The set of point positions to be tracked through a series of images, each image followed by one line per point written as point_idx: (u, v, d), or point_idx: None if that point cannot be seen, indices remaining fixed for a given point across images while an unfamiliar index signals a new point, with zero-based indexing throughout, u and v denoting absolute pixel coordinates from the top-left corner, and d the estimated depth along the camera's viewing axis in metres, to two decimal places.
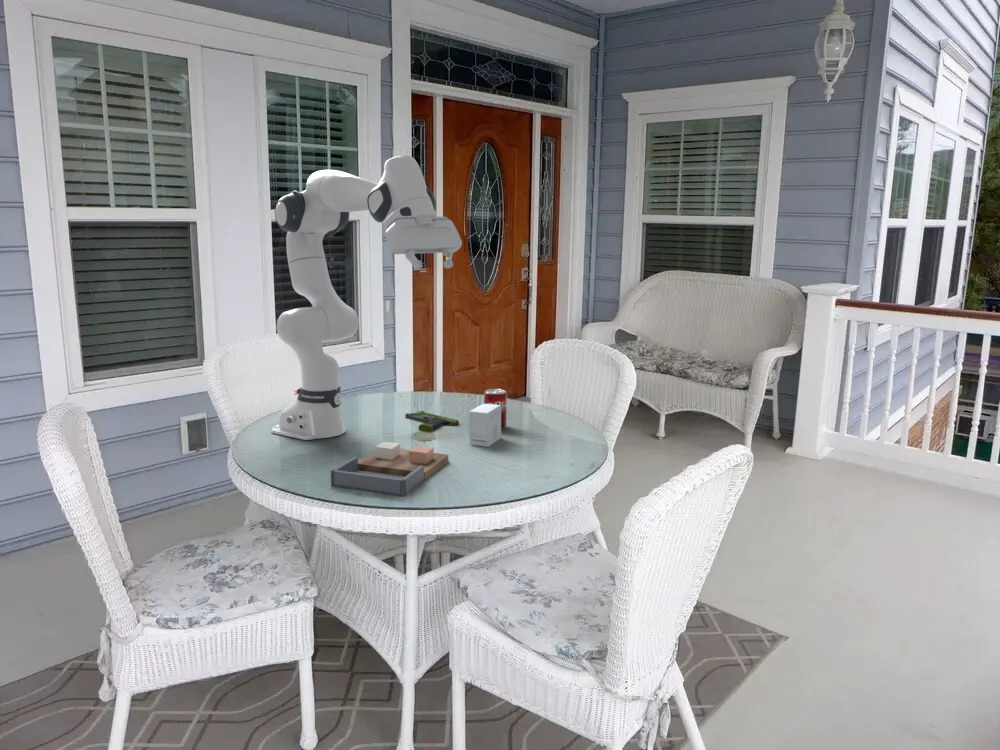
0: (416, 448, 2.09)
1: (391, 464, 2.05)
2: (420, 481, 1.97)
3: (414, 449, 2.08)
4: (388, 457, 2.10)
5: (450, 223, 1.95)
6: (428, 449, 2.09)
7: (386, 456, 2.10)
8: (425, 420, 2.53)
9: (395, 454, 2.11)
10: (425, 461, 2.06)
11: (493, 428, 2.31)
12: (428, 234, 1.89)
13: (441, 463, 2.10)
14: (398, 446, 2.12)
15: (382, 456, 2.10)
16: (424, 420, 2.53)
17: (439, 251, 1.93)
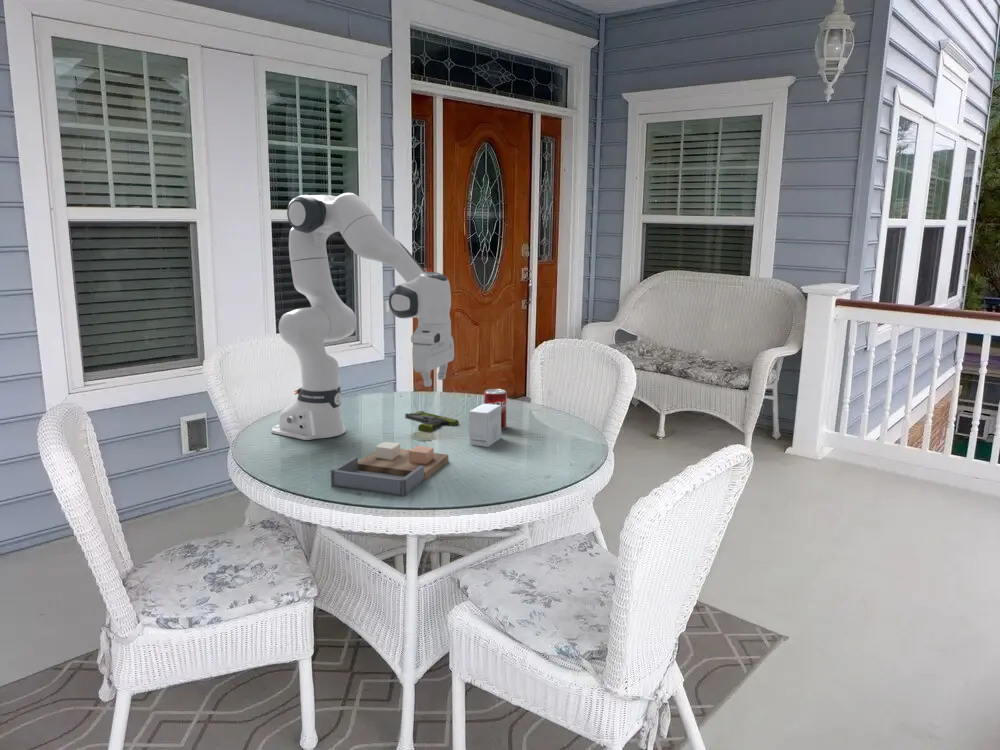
0: (416, 448, 2.09)
1: (391, 464, 2.05)
2: (420, 481, 1.97)
3: (414, 449, 2.08)
4: (388, 457, 2.10)
5: (452, 339, 2.18)
6: (428, 449, 2.09)
7: (386, 456, 2.10)
8: (425, 420, 2.52)
9: (395, 454, 2.11)
10: (425, 461, 2.06)
11: (493, 428, 2.31)
12: (440, 354, 2.11)
13: (441, 463, 2.10)
14: (398, 446, 2.12)
15: (382, 456, 2.10)
16: (424, 420, 2.53)
17: None
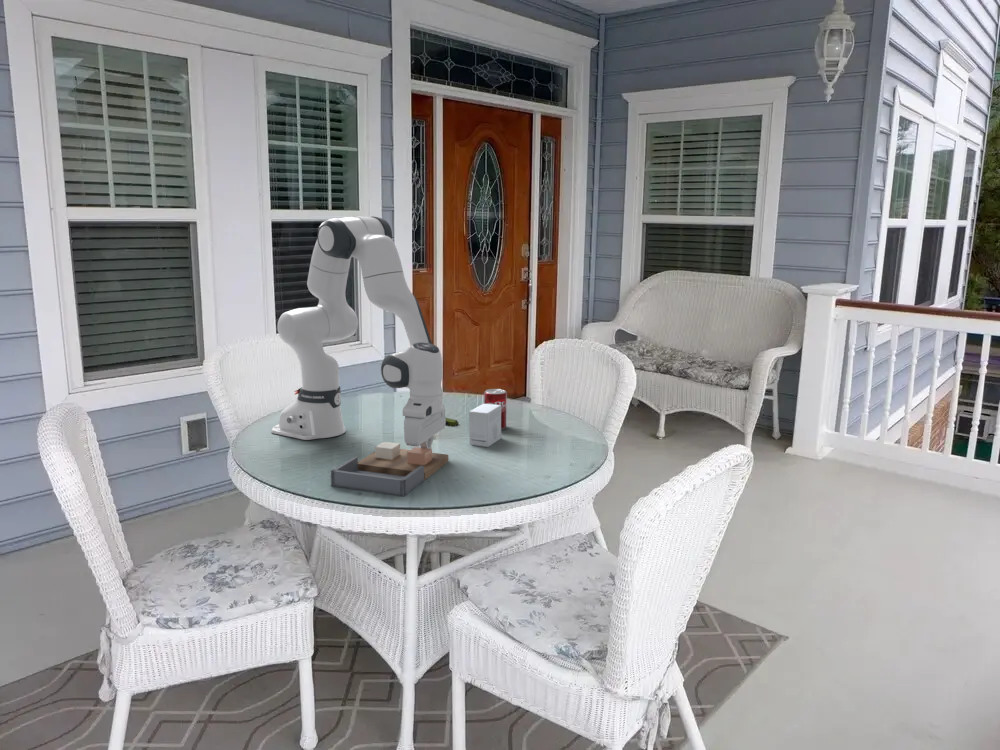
0: (414, 449, 2.08)
1: (391, 464, 2.05)
2: (420, 481, 1.97)
3: (412, 450, 2.07)
4: (388, 457, 2.10)
5: (443, 407, 2.16)
6: (427, 450, 2.07)
7: (386, 456, 2.10)
8: None
9: (395, 454, 2.11)
10: (424, 462, 2.05)
11: (493, 428, 2.31)
12: (432, 424, 2.10)
13: (441, 463, 2.10)
14: (398, 446, 2.12)
15: (382, 456, 2.10)
16: None
17: None
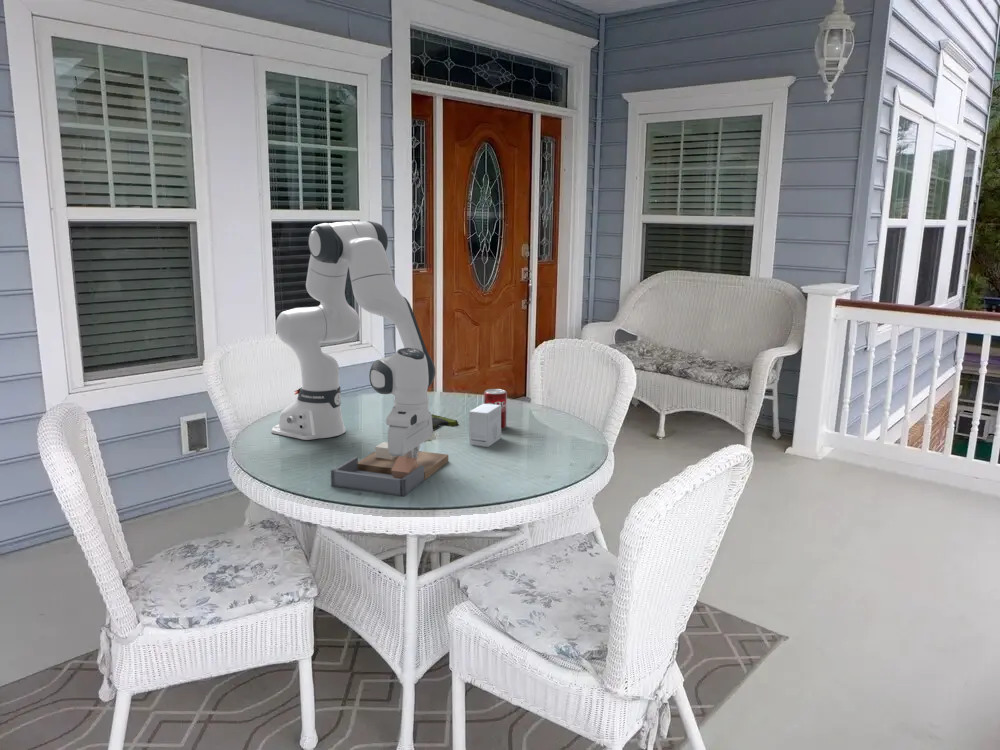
0: (398, 463, 1.99)
1: (391, 464, 2.05)
2: (420, 481, 1.97)
3: (396, 465, 1.98)
4: (388, 457, 2.10)
5: (430, 415, 2.08)
6: (411, 464, 1.98)
7: (386, 456, 2.10)
8: None
9: None
10: None
11: (493, 428, 2.31)
12: (417, 433, 2.01)
13: (441, 463, 2.10)
14: None
15: (382, 456, 2.10)
16: None
17: None
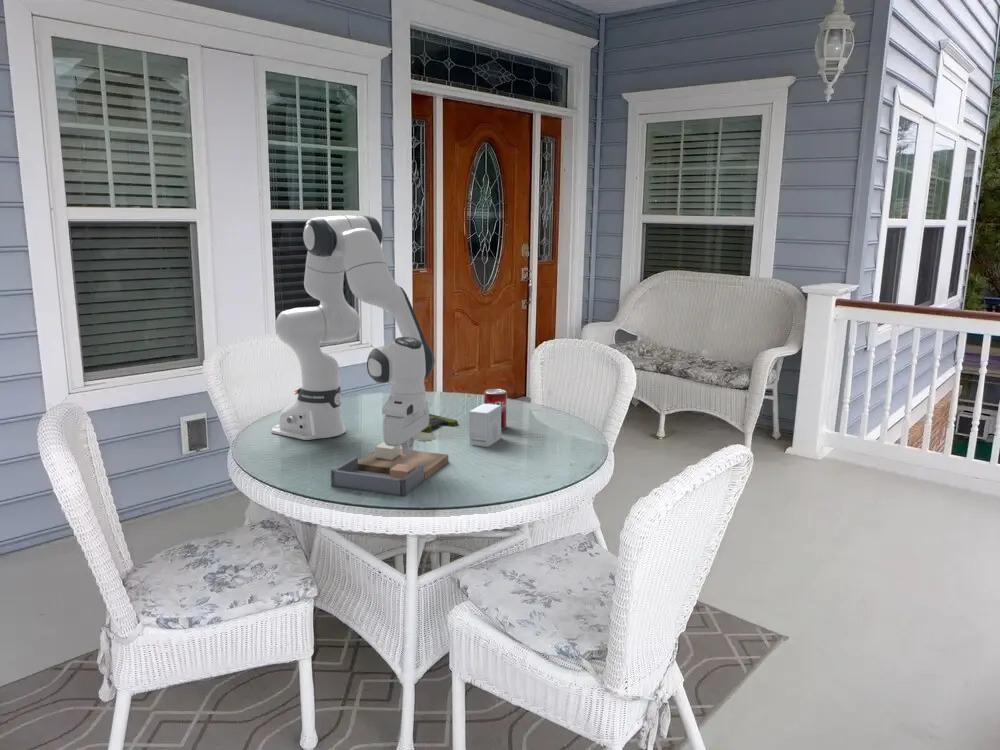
0: (397, 466, 1.99)
1: (391, 464, 2.05)
2: (420, 481, 1.97)
3: (395, 467, 1.98)
4: (388, 457, 2.10)
5: (426, 404, 2.06)
6: (410, 468, 1.98)
7: (386, 456, 2.10)
8: None
9: (395, 454, 2.11)
10: None
11: (493, 428, 2.31)
12: (414, 423, 1.99)
13: (441, 463, 2.10)
14: (398, 446, 2.12)
15: (382, 456, 2.10)
16: None
17: None
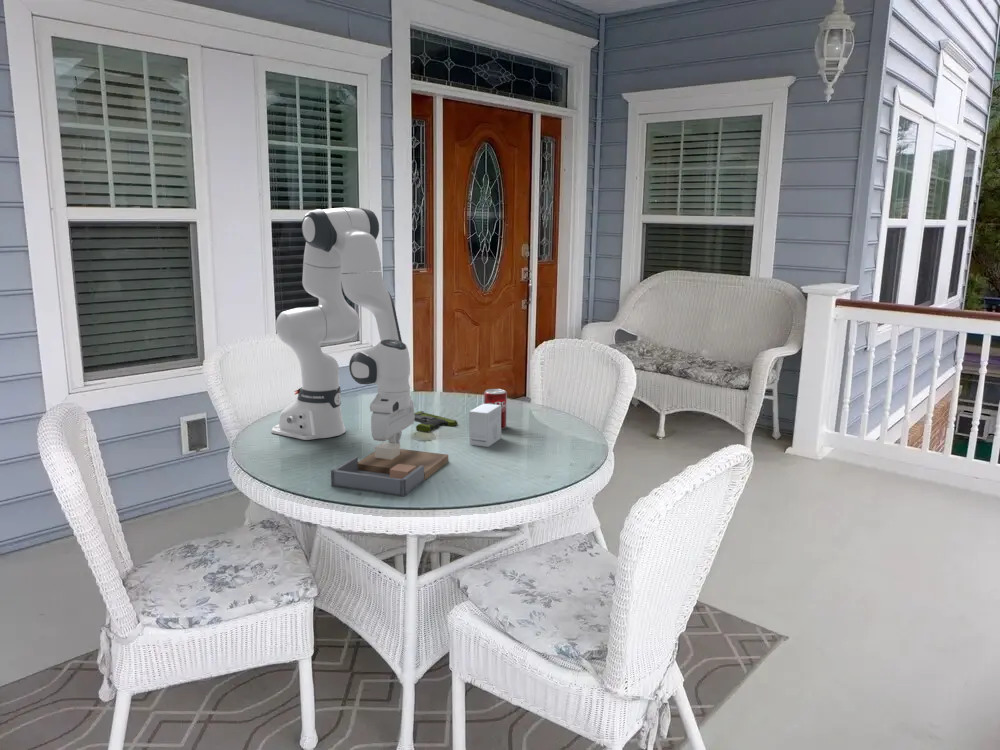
0: (397, 466, 1.99)
1: (391, 464, 2.05)
2: (420, 481, 1.97)
3: (395, 467, 1.98)
4: (388, 457, 2.09)
5: (412, 403, 2.20)
6: (410, 468, 1.98)
7: (386, 456, 2.10)
8: (424, 420, 2.52)
9: (395, 454, 2.11)
10: None
11: (493, 428, 2.31)
12: (400, 420, 2.13)
13: (441, 463, 2.10)
14: (398, 446, 2.12)
15: (382, 456, 2.10)
16: (423, 420, 2.53)
17: None
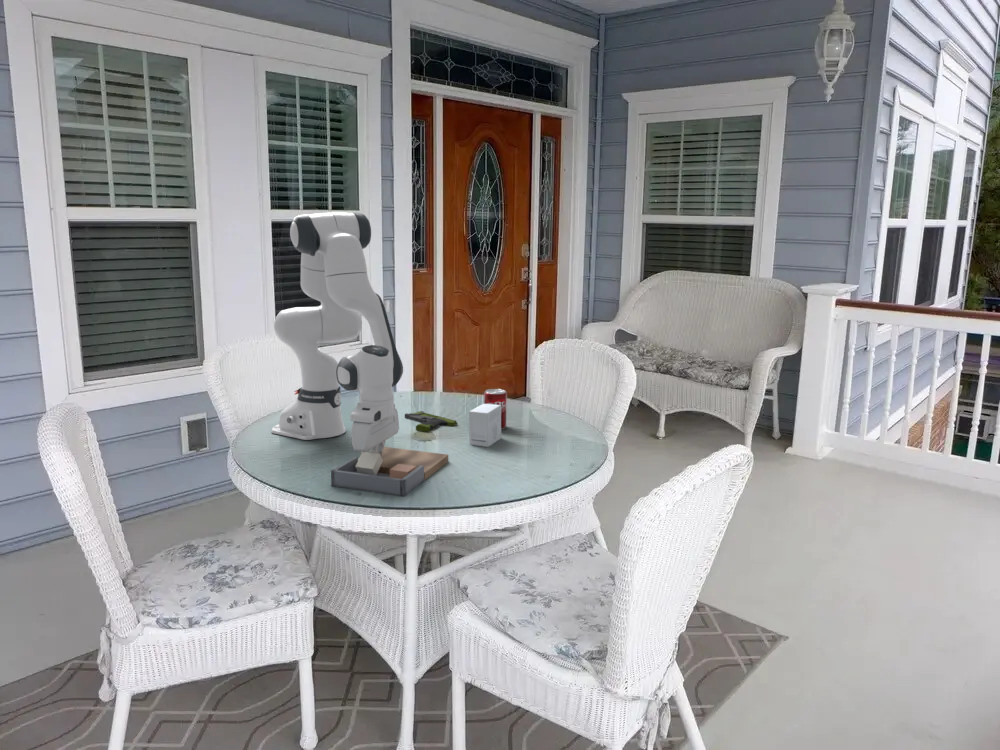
0: (397, 466, 1.99)
1: (391, 464, 2.05)
2: (420, 481, 1.97)
3: (395, 467, 1.98)
4: (371, 474, 2.01)
5: (396, 411, 2.11)
6: (410, 468, 1.98)
7: (369, 473, 2.01)
8: (423, 420, 2.52)
9: (378, 467, 2.02)
10: None
11: (493, 428, 2.31)
12: (382, 429, 2.04)
13: (441, 463, 2.10)
14: (379, 457, 2.02)
15: (365, 473, 2.01)
16: (422, 420, 2.52)
17: None
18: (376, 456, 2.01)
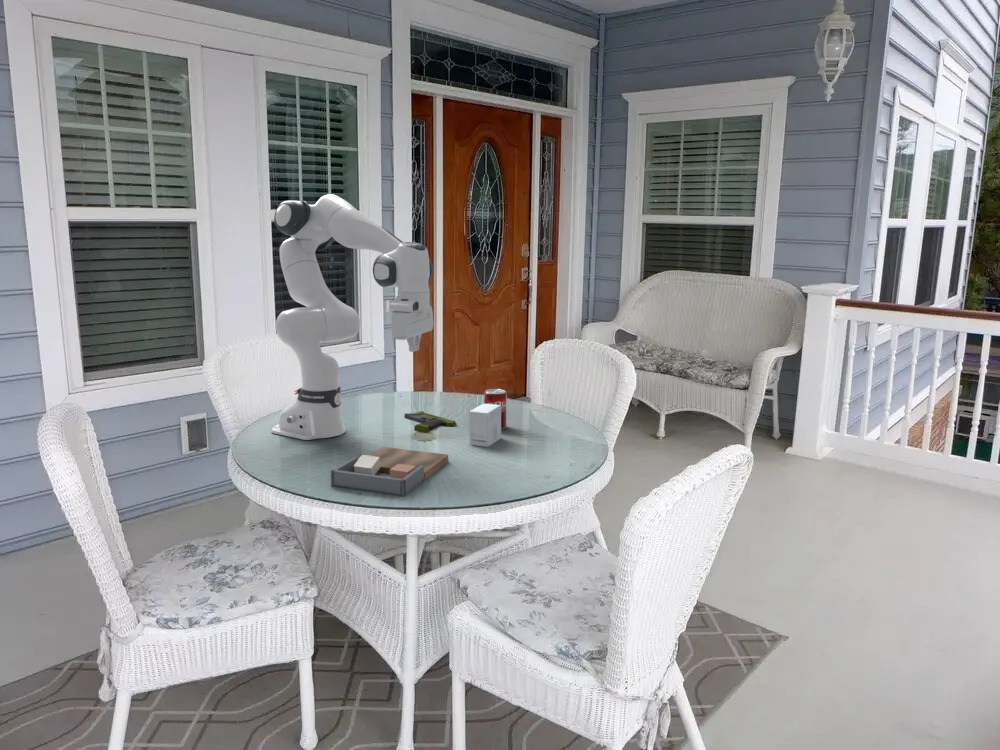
0: (397, 466, 1.99)
1: (391, 464, 2.05)
2: (420, 481, 1.97)
3: (395, 467, 1.98)
4: None
5: (431, 308, 2.23)
6: (410, 468, 1.98)
7: None
8: (423, 420, 2.52)
9: (375, 470, 2.01)
10: None
11: (493, 428, 2.31)
12: (419, 322, 2.16)
13: (441, 463, 2.10)
14: (378, 460, 2.01)
15: None
16: (422, 420, 2.52)
17: None
18: (375, 458, 2.01)
